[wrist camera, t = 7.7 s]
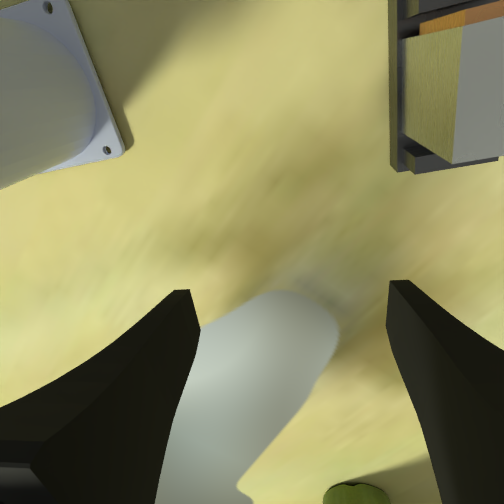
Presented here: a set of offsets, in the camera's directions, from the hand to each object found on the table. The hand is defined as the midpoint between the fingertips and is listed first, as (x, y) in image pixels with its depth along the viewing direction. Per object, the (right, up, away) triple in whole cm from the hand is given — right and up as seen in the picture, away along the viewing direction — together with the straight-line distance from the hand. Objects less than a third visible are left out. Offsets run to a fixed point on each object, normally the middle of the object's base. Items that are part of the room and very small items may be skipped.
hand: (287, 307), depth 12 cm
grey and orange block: (+8, +10, +3) cm, 13 cm away
